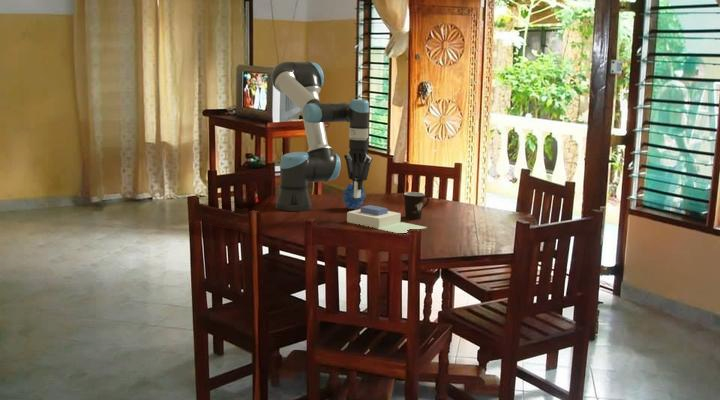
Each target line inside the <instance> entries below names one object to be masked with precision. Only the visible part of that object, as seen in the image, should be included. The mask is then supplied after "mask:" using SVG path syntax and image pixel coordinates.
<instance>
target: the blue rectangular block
mask: <svg viewBox="0 0 720 400" xmlns="http://www.w3.org/2000/svg"><path fill="white" fill-rule="evenodd" d="M360 209H361V210H360V212H363V213H368V214H373V215H377V216H379V215H383V214H387V213H388V211H389V210H388V208H387V207H382V206H377V205H372V204H371V205H370V204H369V205H365V206H363V205H362V206H360Z"/></svg>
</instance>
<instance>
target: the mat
mask: <svg viewBox="0 0 720 400" xmlns="http://www.w3.org/2000/svg"><path fill="white" fill-rule="evenodd" d="M427 227H428V226H423V225H418V224H413V223H408V222H403V221H400V223H396V224H393V225H389V226H385V227H381V228H378V229H377V230H379V231H383V232H384V231H385V232H387V231H388V233H392V232H393V234H397V233H407V232H408V231H407V230H409V229H421V230H425V229H427ZM407 234H408V233H407Z"/></svg>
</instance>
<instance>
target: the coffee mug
mask: <svg viewBox="0 0 720 400" xmlns="http://www.w3.org/2000/svg"><path fill="white" fill-rule="evenodd" d="M425 198H426V199H427V201H426V203H425ZM403 201H404V211H405V219H407V220H412V219H413V220H414V221H415V220H416V221H417V220H420V219H421V220H422V214H423V209H424V208H425V207H426V206H427V205H428V204H429V202H430V196H428V195H426V194H425V193H423V192H416V191H406V192H404V193H403ZM424 203H425V204H424ZM413 220H412V221H413Z"/></svg>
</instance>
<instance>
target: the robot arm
mask: <svg viewBox="0 0 720 400" xmlns="http://www.w3.org/2000/svg"><path fill="white" fill-rule="evenodd" d="M271 71H272V72H271V75H270V79H271V80H270V81H271V84H272V85H273V87H274V88H275V90H277V91H278V92H279V93H283V94H285V95H286V96H287V98H289V99H290V100H291V101H292V102H293V103H294V104H295V105H296V106H297V107H298V108H299V109H300V110H301V115H302V119H303V125H304V131H305V135H306V136H305V137H306V141H307V146H308V150H307V151H294V152H293V151H292V152H287V153H285V154H283V155H282V156H281V157H280V164H279V168H280V169H279V171H280V172H279V180H280V181H279V192H278V195H277V199H276V201H275V208H276V209H277V210H280V211H285V212H286V211H288V212H300V211H301V212H302V211H307V210H311V209H312V201H311V198H310V195H309V190H308V183H318V182H320V183H321V182H330V181H334V180H336V179H337V178H338V177H339V175H340V172H341V167H342V163H341V157H340V156H339V154H337V153H335V152H334V149H333V147H331V146H330V145H329V143H328V137H327V133H326V126H325V123H349V132H348V133H349V135H348V137H349V140H348V148H349V152H348V153H347V154H345V155H343V156H344V157H343V158H344V159H345V162H346V163H345V164H346V168H347V169H346V170H347V176H348V180H352V184H353V189H354V198H360V197H361V190H362V187H363V182H365V181H367V180H368V176H369V172H370V167H371V163H372V161H373V157H371V156H369V155H368V154H369V153H368V148H369V140H368V139H369V125H370V124H369V123H370V122H369V119H370V103H369V101H368V100H367V99H358V98H357V99H351V100H350V101H349V102H350V103H347V102H343V101H342V102H337V103H336V102H334V103H332V102H331V103H329V102H328V103H327V102H326V103H324V102H321V101H320V96H319V94H320V92H321V91H322V87H323V85H324V82H325V81H324V80H325V79H324V78H325V75H324V72H323V69H322V67H321V66H320V65H319V64H318V63H317V62H312V61H283V62H280V63H278V64H277V65H275V67H274V68H273V69H272V70H271Z"/></svg>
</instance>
